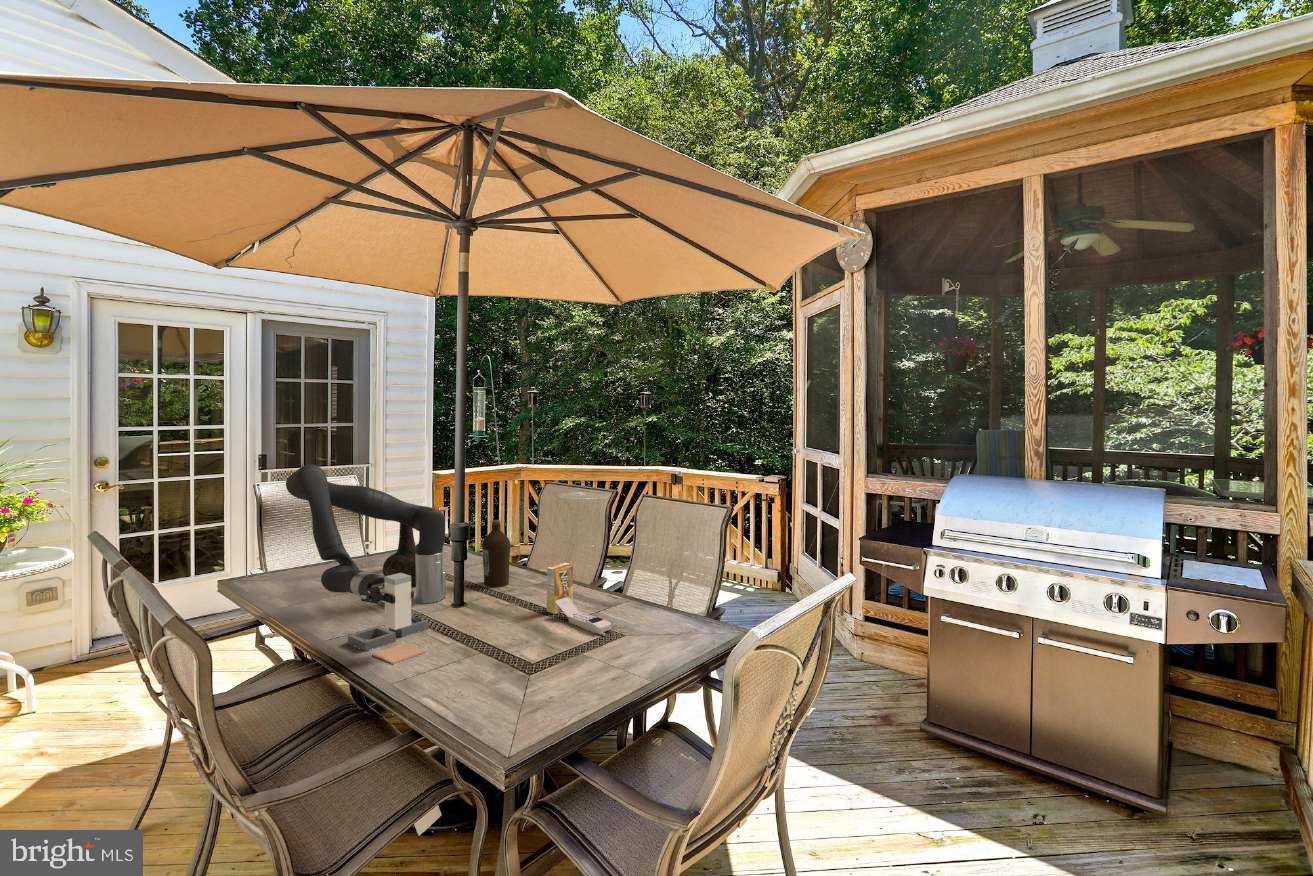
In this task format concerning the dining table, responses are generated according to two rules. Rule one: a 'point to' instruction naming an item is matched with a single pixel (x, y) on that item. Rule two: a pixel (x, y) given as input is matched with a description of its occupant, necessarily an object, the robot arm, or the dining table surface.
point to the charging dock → (384, 634)
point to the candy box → (559, 585)
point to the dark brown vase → (403, 556)
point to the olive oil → (496, 557)
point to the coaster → (399, 653)
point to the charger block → (398, 601)
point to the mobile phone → (583, 617)
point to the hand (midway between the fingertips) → (403, 597)
